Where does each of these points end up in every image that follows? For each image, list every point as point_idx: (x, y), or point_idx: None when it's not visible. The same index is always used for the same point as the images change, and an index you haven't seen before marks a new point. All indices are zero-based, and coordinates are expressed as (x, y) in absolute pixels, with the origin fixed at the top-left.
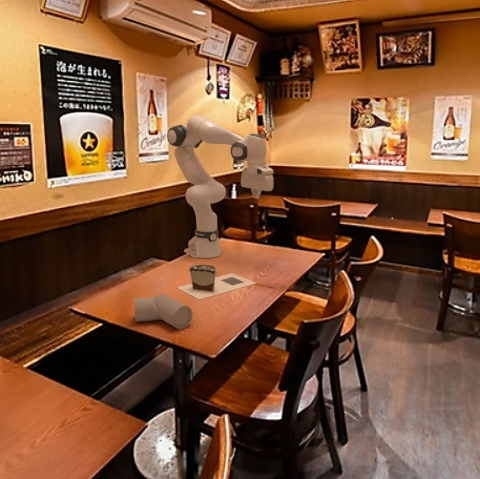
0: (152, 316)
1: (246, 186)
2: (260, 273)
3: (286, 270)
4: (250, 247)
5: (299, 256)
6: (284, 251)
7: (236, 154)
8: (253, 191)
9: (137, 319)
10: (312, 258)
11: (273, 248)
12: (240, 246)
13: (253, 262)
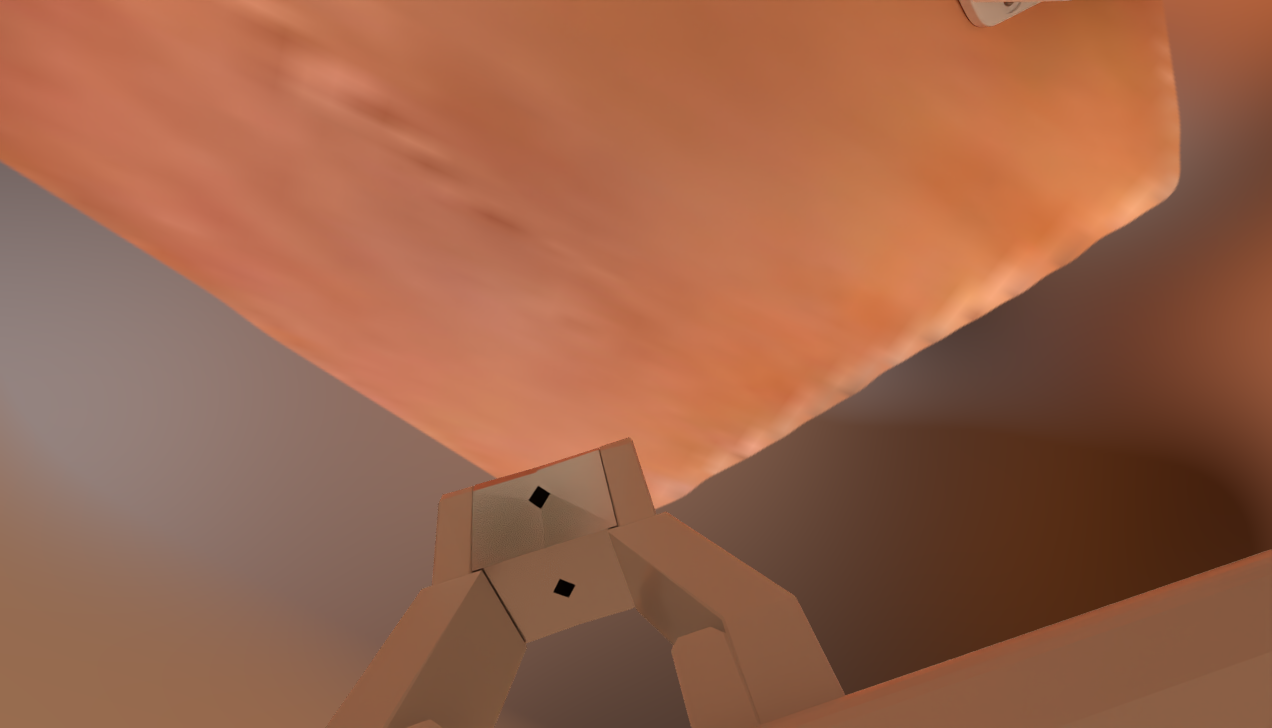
0: None
1: (1249, 628)
2: (337, 63)
3: (364, 277)
4: (922, 270)
5: None
6: (735, 412)
7: None
8: (703, 625)
9: None
10: None
11: (819, 381)
12: (982, 220)
13: (625, 143)
